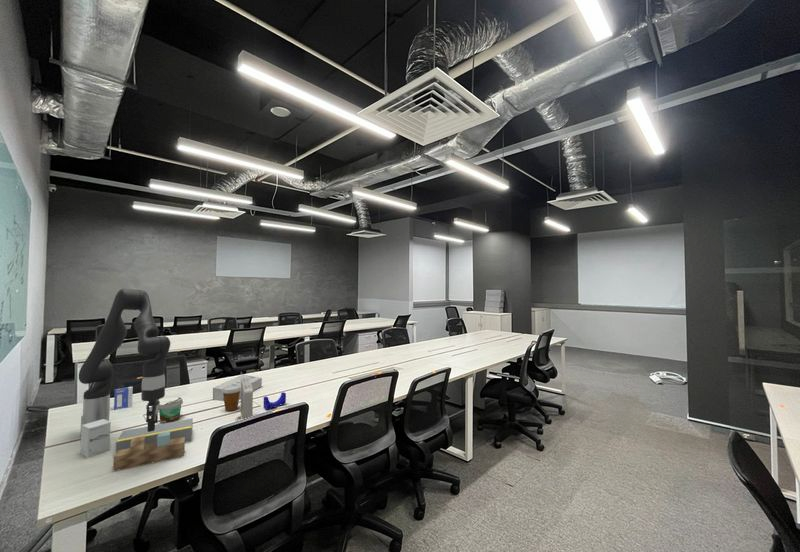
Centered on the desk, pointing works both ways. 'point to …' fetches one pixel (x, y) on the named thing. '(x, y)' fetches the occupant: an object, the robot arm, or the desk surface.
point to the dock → (156, 433)
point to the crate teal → (163, 439)
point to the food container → (170, 411)
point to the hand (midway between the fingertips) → (152, 427)
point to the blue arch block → (274, 404)
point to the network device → (246, 399)
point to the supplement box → (95, 438)
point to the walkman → (123, 398)
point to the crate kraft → (137, 444)
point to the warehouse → (217, 390)
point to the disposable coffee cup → (231, 397)
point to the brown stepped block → (149, 454)
